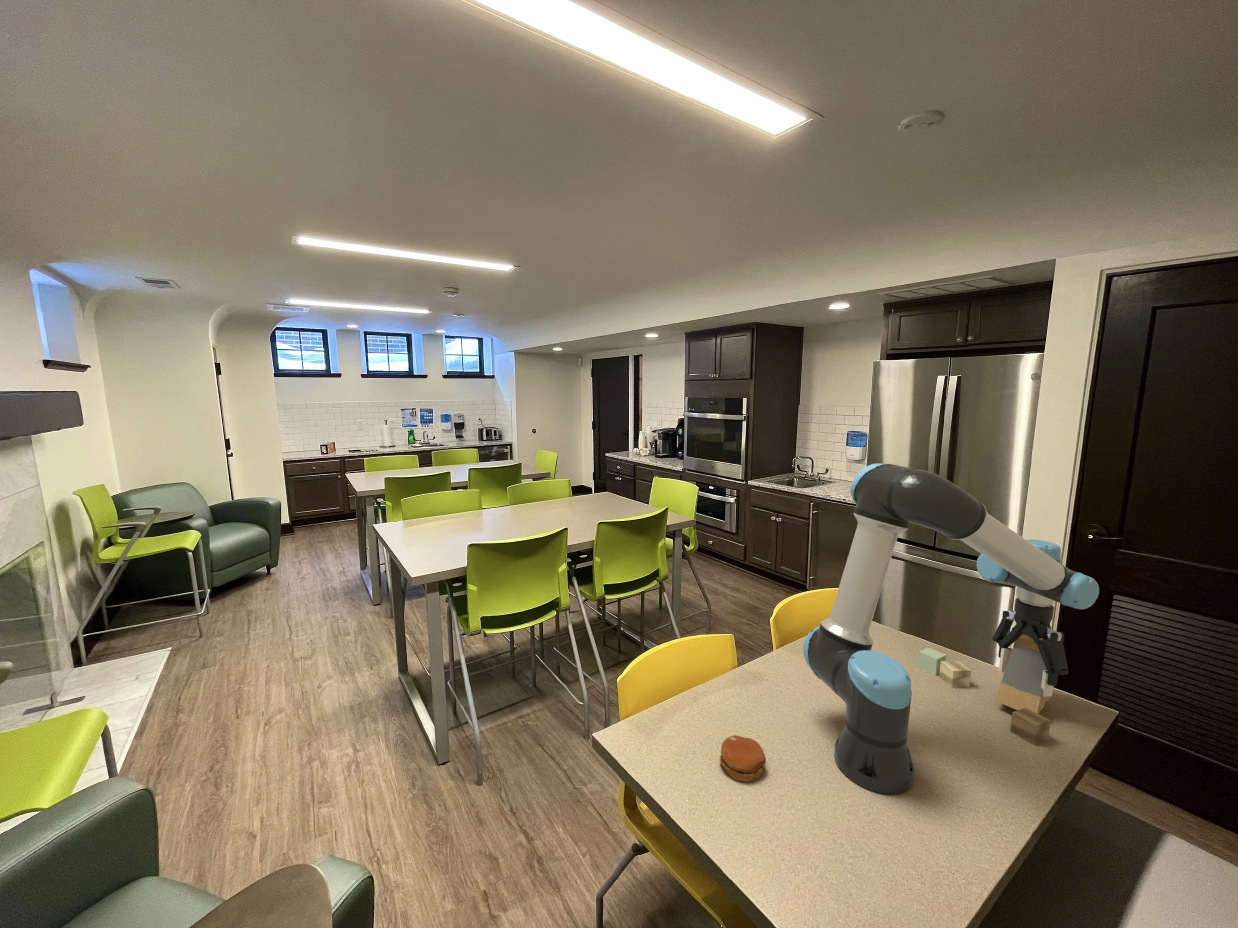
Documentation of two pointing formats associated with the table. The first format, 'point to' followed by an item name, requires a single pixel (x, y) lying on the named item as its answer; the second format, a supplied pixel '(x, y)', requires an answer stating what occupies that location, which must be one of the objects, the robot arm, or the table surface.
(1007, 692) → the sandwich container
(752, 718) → the table surface
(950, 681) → the maple cube
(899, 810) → the table surface
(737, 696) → the table surface
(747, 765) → the burger
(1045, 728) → the walnut cube
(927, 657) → the sage cube
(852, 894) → the table surface
